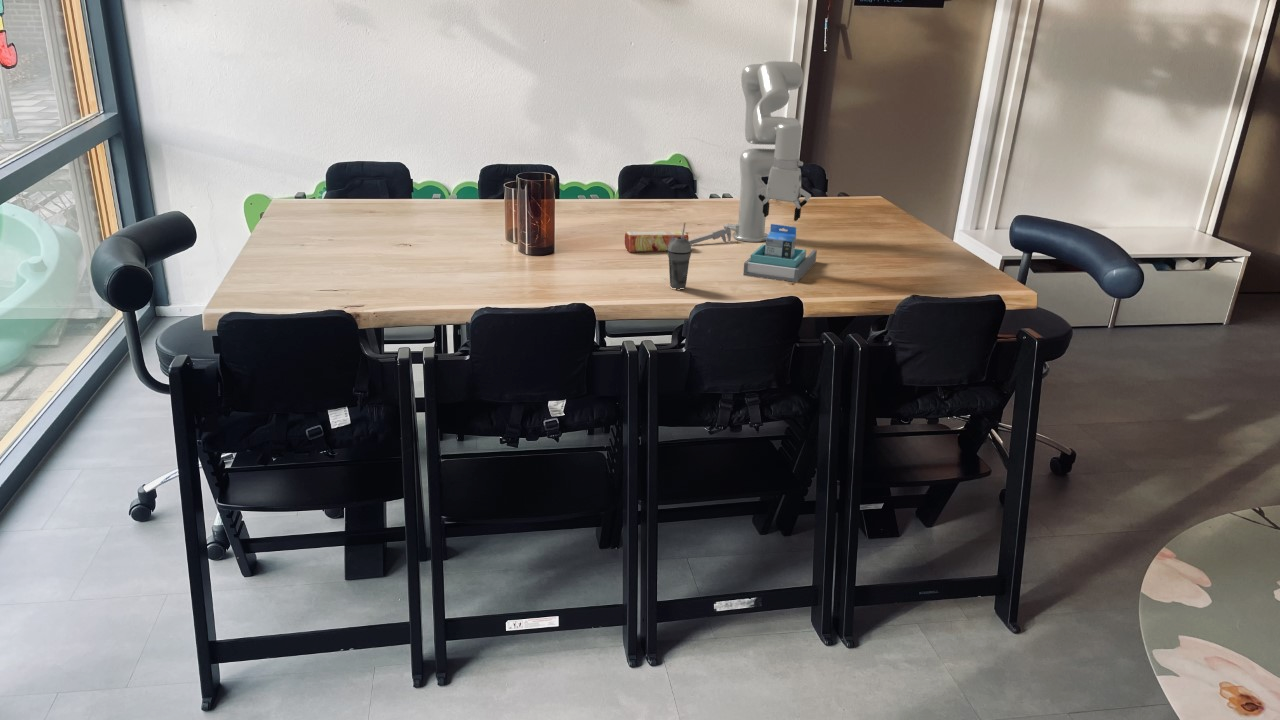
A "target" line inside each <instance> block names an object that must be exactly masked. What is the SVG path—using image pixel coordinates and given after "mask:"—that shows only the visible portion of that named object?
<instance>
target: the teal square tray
mask: <svg viewBox="0 0 1280 720" xmlns="http://www.w3.org/2000/svg"><path fill="white" fill-rule="evenodd" d="M765 247H766V245H765V244H762V245H760V246H759V247H758V248H757V249H756V250H754V251H753V252H752V253H751V254H750V257H751V259H750V262H751V263H759V264H766V265H774V266H781V267H789V268H797V267H798V266H799V265H800V264H801V263H802V262H803V261H804V260H805V258H806V257H807V249H802V248H795V252H794V260H792V259H784V258H777V257H769V256H765Z"/></svg>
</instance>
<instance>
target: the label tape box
mask: <svg viewBox="0 0 1280 720" xmlns="http://www.w3.org/2000/svg"><path fill="white" fill-rule="evenodd" d="M783 229H784V230H783ZM786 230H787V231H786ZM767 234H768V236H767V238H766V240H765V244H766V247H765V256H769V257H777V258H784V259H792V260H794V252H795V249H796V239H797V227H795V226H789V225H788V226H787V225H781V224H775V223H773V224H772V223H770V231H769V233H767Z"/></svg>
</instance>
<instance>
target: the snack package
mask: <svg viewBox="0 0 1280 720" xmlns="http://www.w3.org/2000/svg"><path fill="white" fill-rule="evenodd" d="M682 231H683V230H682ZM682 231H681V230H680V231H679V230H677V231H663V230H661V231H625V234H624V246H625V249H627V250H626V251H627V253H639V252H638V251H652V252H667V251H666V250H668V246H669V243H670V242H671V241H672V240H673V239H674V238H676V237H682ZM683 238H685V239H687V240H688V241H689V240H690V238H689V234H687V232H685V231H684V236H683ZM635 251H637V252H635Z"/></svg>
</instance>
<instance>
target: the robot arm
mask: <svg viewBox="0 0 1280 720" xmlns="http://www.w3.org/2000/svg"><path fill="white" fill-rule="evenodd" d="M740 81H741V87H742V88H741V89H742V92H743V95H744V99H745V123H744V124H745V125H744V135H745V140H746V142H747V143H748V144H752V145H759V146H760V145H765V146H766V145H767V146H768V145H769V146H773V145H774V148H748V149H746V150H744V151H742V153H741V154H740V157H739V170H740V192H739V193H740V195H739V206H738V207H739V208H738V220H737V221H738V223H736V224H733V223H727V224H726V225H728V227H729V228H730V230H731V231H734V232H733V235H732V237H733V238H734V239H735V240H738V241H743V242H747V243H748V242H751V243H760V242H766V238H767V236H768V234H769V233H766V232H765V230H766V229H765V228H766V218H767V217H768V216H769V214H770V204H771V203H770V202H769V201H770V200H775V201H782V202H789V203H793V204H794V205H795V208H794V213H793V214H794V215H793V216H794V217H793V221H794V222H797V221H799V220H798V219H800V218H801V215H802V214H801V212H802V208H803V207H804V206H805V205H806V204H807V203H808V202H809V200H810V198H812V194H811V193H809V192H808V191H806V190H805V189H803V187H802V171H801V168H800V167H803V165H804V162H803V161H801V160H800V149H801V139H802V125H801V123H800V121H799V119H798V118H796V117H795V118H794V117H785V116H772V113H774V112H776V111H779V110H781V109H783V108H784V107H785V106H786V105H787V104H788V103H789V101H790V92H789V91H793V90H798V89H799V88H800V87H801V85H802V83H803V81H804V73H803V69H802V67H801V65H800V63H798V62H796V61H776V60H773V61H767V62H763V63H755V64H754V63H753V64H748V65H746V66H744V67H743V69H742V72H741V77H740ZM766 177H767V178H768V180H767V184H766V183H765V182H764V181H763V180H762V178H766ZM801 196H803V197H804V198H803V200H802V201H801V200H800V198H801Z"/></svg>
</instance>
